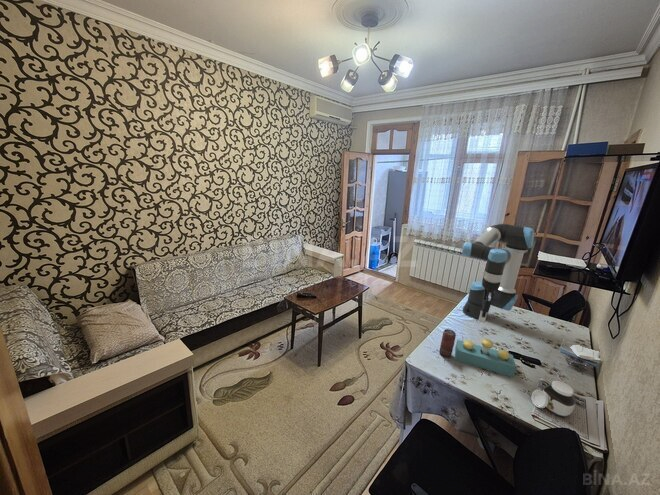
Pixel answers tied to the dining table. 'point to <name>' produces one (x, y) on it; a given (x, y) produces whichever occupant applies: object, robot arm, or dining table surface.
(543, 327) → the dining table surface
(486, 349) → the plunger mid
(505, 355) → the plunger
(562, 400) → the spread jar
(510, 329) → the dining table surface
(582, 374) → the dining table surface
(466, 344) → the plunger
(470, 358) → the mount
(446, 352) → the can
